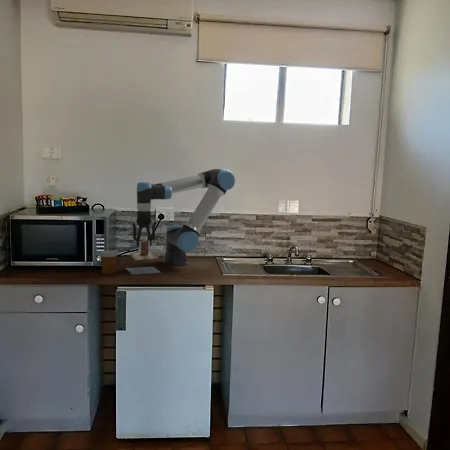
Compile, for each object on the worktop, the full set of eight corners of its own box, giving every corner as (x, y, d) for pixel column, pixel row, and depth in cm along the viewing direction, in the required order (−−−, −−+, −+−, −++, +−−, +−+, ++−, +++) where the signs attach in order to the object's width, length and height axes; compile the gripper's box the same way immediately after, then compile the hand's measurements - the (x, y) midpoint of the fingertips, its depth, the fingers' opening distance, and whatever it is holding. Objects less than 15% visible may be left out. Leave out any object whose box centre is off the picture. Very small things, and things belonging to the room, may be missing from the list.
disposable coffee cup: (112, 276, 249) (112, 253, 248) (96, 274, 251) (96, 252, 250) (120, 272, 258) (120, 250, 257) (104, 270, 260) (104, 249, 259)
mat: (153, 267, 272) (153, 266, 272) (161, 273, 258) (161, 272, 258) (125, 269, 265) (125, 268, 265) (132, 275, 252) (132, 274, 252)
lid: (152, 253, 270) (152, 239, 268) (158, 258, 258) (158, 243, 257) (129, 255, 264) (129, 241, 263) (135, 260, 252) (135, 245, 251)
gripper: (129, 211, 250) (130, 254, 254) (161, 210, 258) (161, 252, 261) (126, 210, 257) (126, 252, 260) (157, 209, 264) (157, 250, 268)
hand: (144, 252), depth 261 cm, fingers closed on lid, 4 cm apart
